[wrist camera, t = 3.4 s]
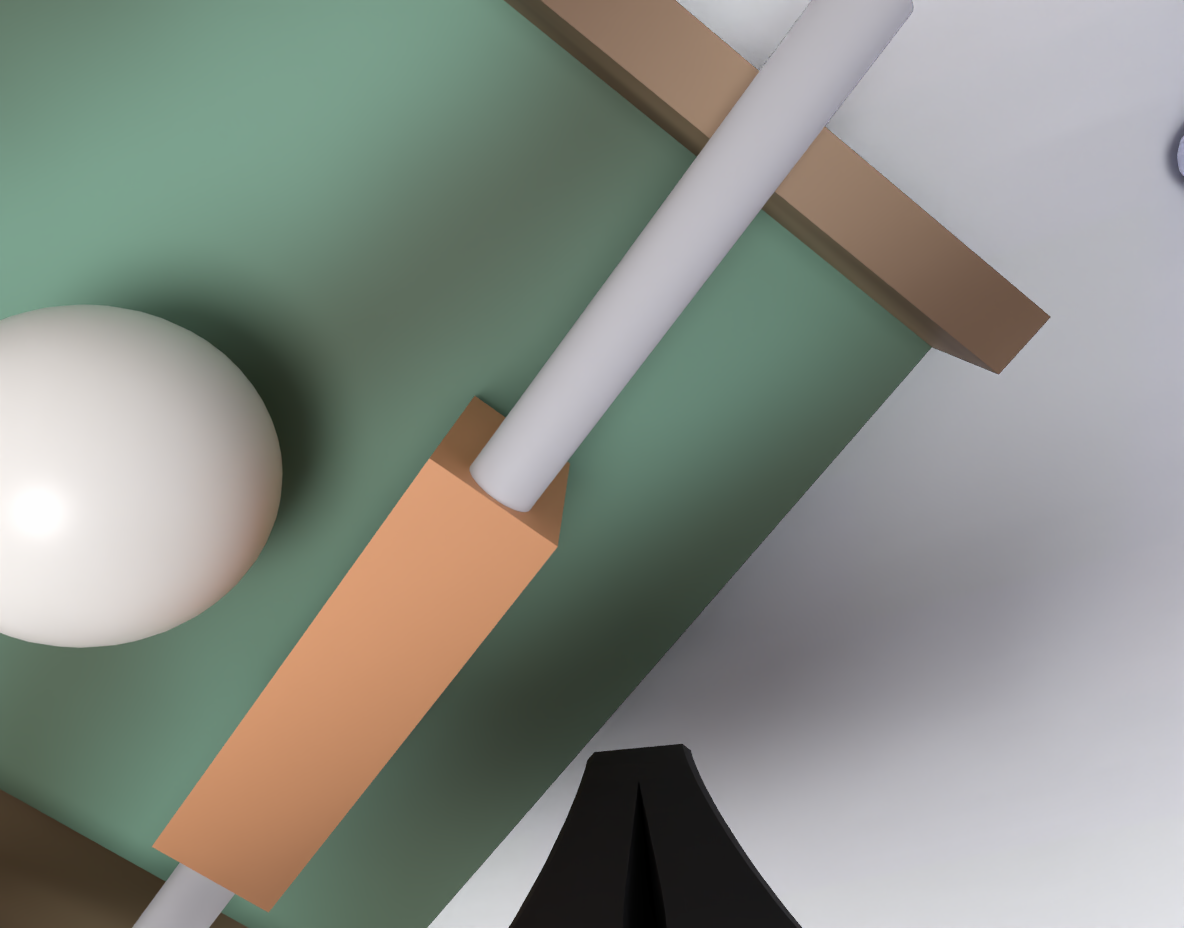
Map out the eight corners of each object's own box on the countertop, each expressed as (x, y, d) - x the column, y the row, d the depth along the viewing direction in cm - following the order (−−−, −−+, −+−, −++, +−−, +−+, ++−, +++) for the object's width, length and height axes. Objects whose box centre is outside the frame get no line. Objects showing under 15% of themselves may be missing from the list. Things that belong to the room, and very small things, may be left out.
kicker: (867, 90, 10) (993, 29, 7) (115, 1062, 15) (-23, 1300, 12) (754, -10, 10) (827, -121, 6) (23, 1016, 15) (-143, 1245, 11)
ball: (379, 405, 12) (267, 500, 8) (239, 611, 13) (76, 786, 9) (124, 228, 11) (-135, 236, 7) (-4, 459, 12) (-293, 576, 8)
